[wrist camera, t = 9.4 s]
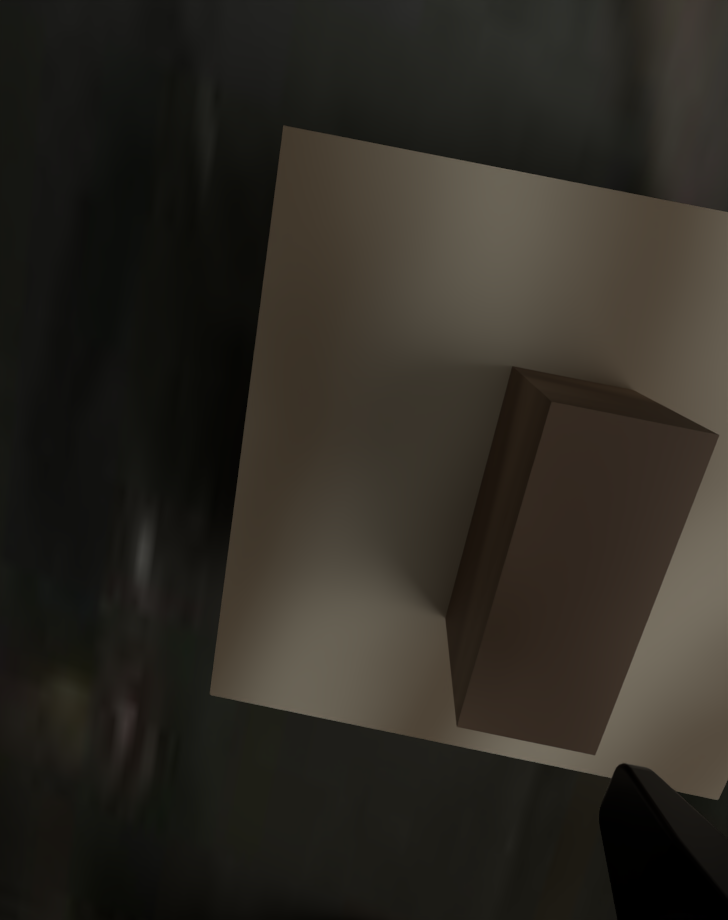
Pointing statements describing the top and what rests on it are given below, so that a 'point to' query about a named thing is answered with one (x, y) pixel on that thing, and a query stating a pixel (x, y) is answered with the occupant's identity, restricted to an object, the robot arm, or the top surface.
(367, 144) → the birch lid
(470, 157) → the top surface
